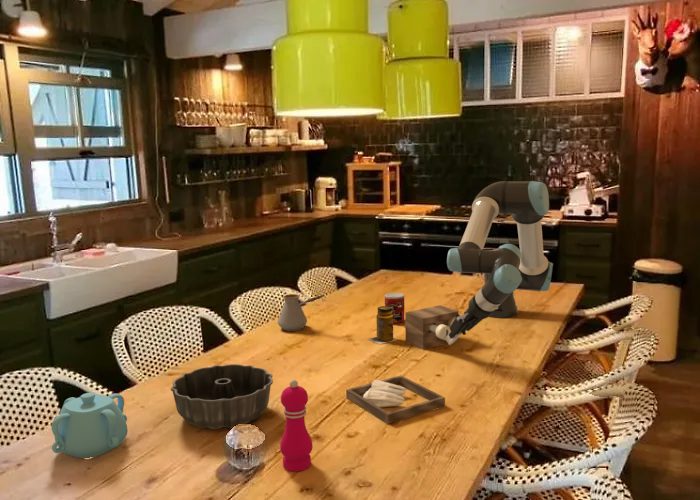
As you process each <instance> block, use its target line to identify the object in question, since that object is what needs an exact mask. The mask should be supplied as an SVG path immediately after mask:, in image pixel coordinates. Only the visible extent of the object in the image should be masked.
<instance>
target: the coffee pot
mask: <svg viewBox="0 0 700 500" xmlns="http://www.w3.org/2000/svg"><path fill="white" fill-rule="evenodd" d="M300 297H301V296H300V295H299V294H295V293H293V294H292V293H289V294H284V295H283V296H282V298H283V300H284V304H283V306H282V309H281V310H280V314H279V317H278V320H277V324H278V326H279V327H280V328H282V330H284V331H288V332H296V331H300V330H302V329H303V328H304V327H305V326H306V325H307V323H308V319H307V316H306V314H305V312H304V310H303V308H302V307H301V306H302V305H304V304H306V303H311V302H315V301H317V300H319V299H322V301H324V300H327V297H326V296H325V295H324V294H320V295H317V296H315V297H311V298H309V299H307V300H304V301H301V302H299V299H300ZM323 298H325V299H323Z"/></svg>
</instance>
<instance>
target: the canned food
mask: <svg viewBox="0 0 700 500" xmlns="http://www.w3.org/2000/svg"><path fill="white" fill-rule="evenodd" d="M384 306H389V307H391V308H392V314H393V325H401V324H403V323H405V294H404V293H401V292H388V293H385V295H384Z"/></svg>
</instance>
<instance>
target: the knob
mask: <svg viewBox="0 0 700 500" xmlns="http://www.w3.org/2000/svg"><path fill="white" fill-rule="evenodd" d="M429 331H432V332H435V333H436V336H437V337H438V338H440V339H443V340H446V339H445V337H446V336H447V335H448V334H449V333H450V332H451V330H450V327H449V326H446V325H443V324H441V325H439V326H436V325H433V324H429Z"/></svg>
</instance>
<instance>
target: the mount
mask: <svg viewBox="0 0 700 500" xmlns="http://www.w3.org/2000/svg"><path fill="white" fill-rule="evenodd" d="M457 314H459V315H460V313H459V310H456V309H453V308H450V307H447V306H443V305H442V304H441V305H439V304H438V305H435V306H431V307H425V308H420V309H416V310H411V311H404V323H405V343H406V344H409V345H412V346H414V347H417V348H419V349H421V350H427V349H431V348H434V347H438V346H439V347H440V346H442V345H447V344H448V342H447V341H446V340H443V339H440V338H438V337H437V336H436V333H435V332H432V331H429V324H433V325H436V326H439V325H441V324H443V325H446V326H449V327H450V326H451V325H452V323H453V321H454V320H455V318H456V315H457ZM456 342H459V337H458V338H457V339H456V340H455V342H454V343H456ZM448 345H449V344H448Z"/></svg>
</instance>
